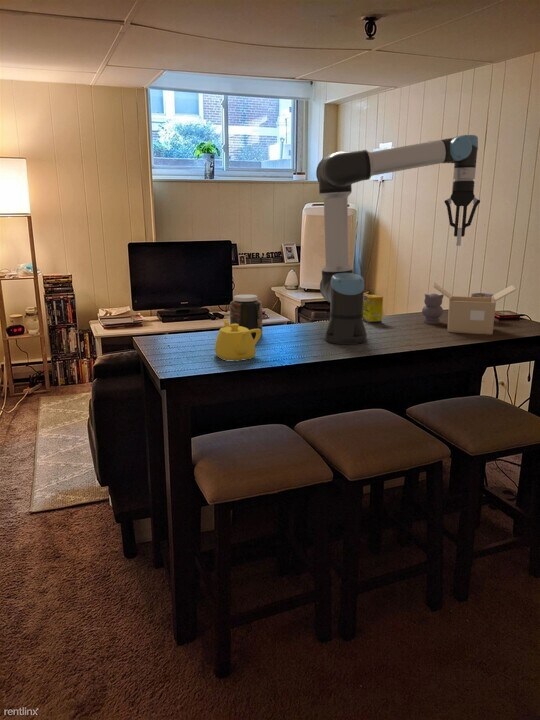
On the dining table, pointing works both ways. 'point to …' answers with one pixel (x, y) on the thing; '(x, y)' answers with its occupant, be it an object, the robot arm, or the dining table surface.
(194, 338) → the dining table surface
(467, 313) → the carton
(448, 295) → the flap
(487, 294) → the mug
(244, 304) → the jar
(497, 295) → the flap
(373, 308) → the supplement box
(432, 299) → the cat figurine
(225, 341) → the teapot
